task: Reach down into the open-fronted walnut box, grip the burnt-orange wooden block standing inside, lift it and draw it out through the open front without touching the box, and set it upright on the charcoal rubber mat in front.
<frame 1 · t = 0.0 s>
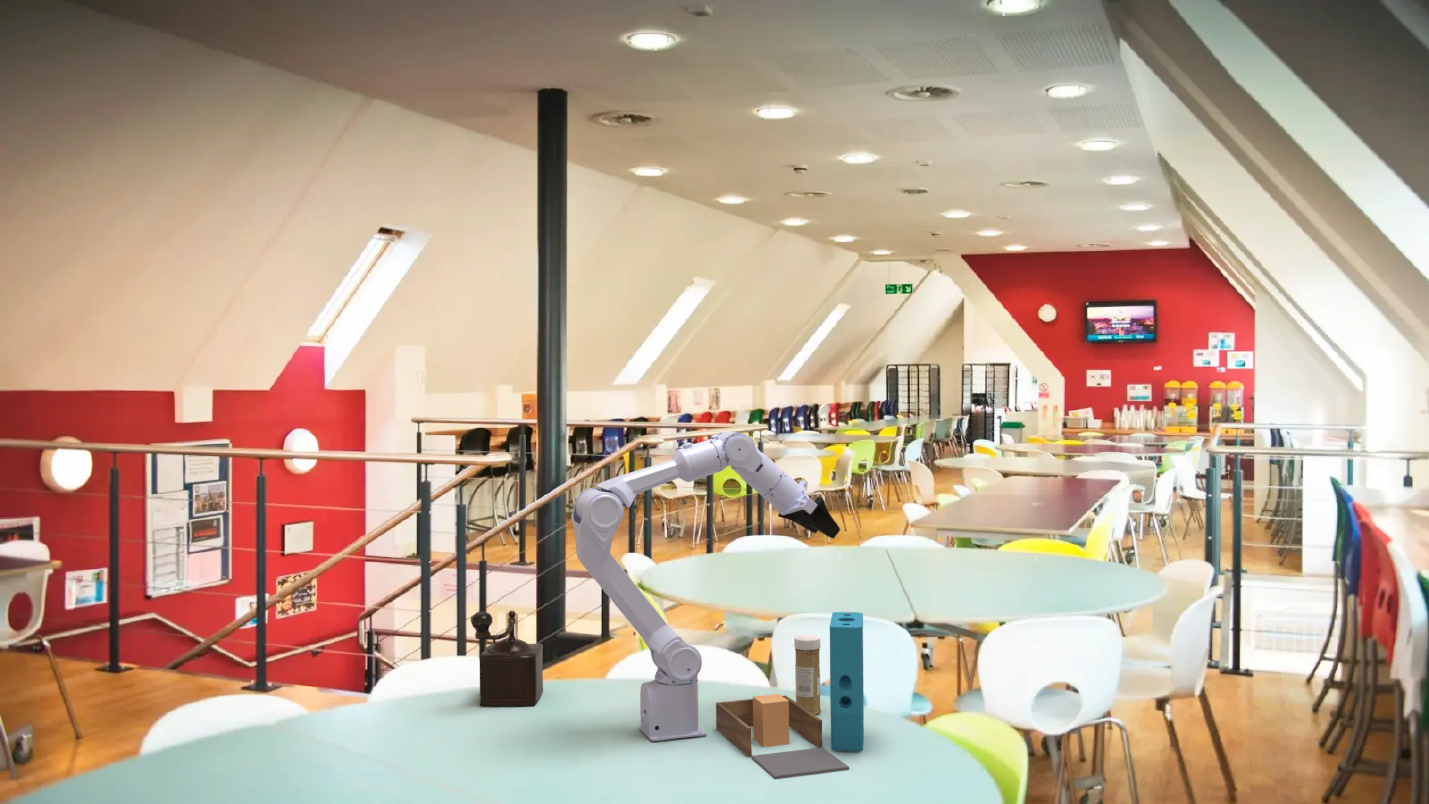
hand: (827, 531, 204), 32 cm above the table, tool tilted 50°, fingers open, 7 cm apart
manual coffee grinder: (508, 704, 215), on the table
walnut box: (771, 741, 190), on the table
block: (847, 744, 189), on the table
charcoal mat: (799, 763, 179), on the table
orange block: (770, 720, 190), in the walnut box
sprinkles bottle: (808, 713, 206), on the table
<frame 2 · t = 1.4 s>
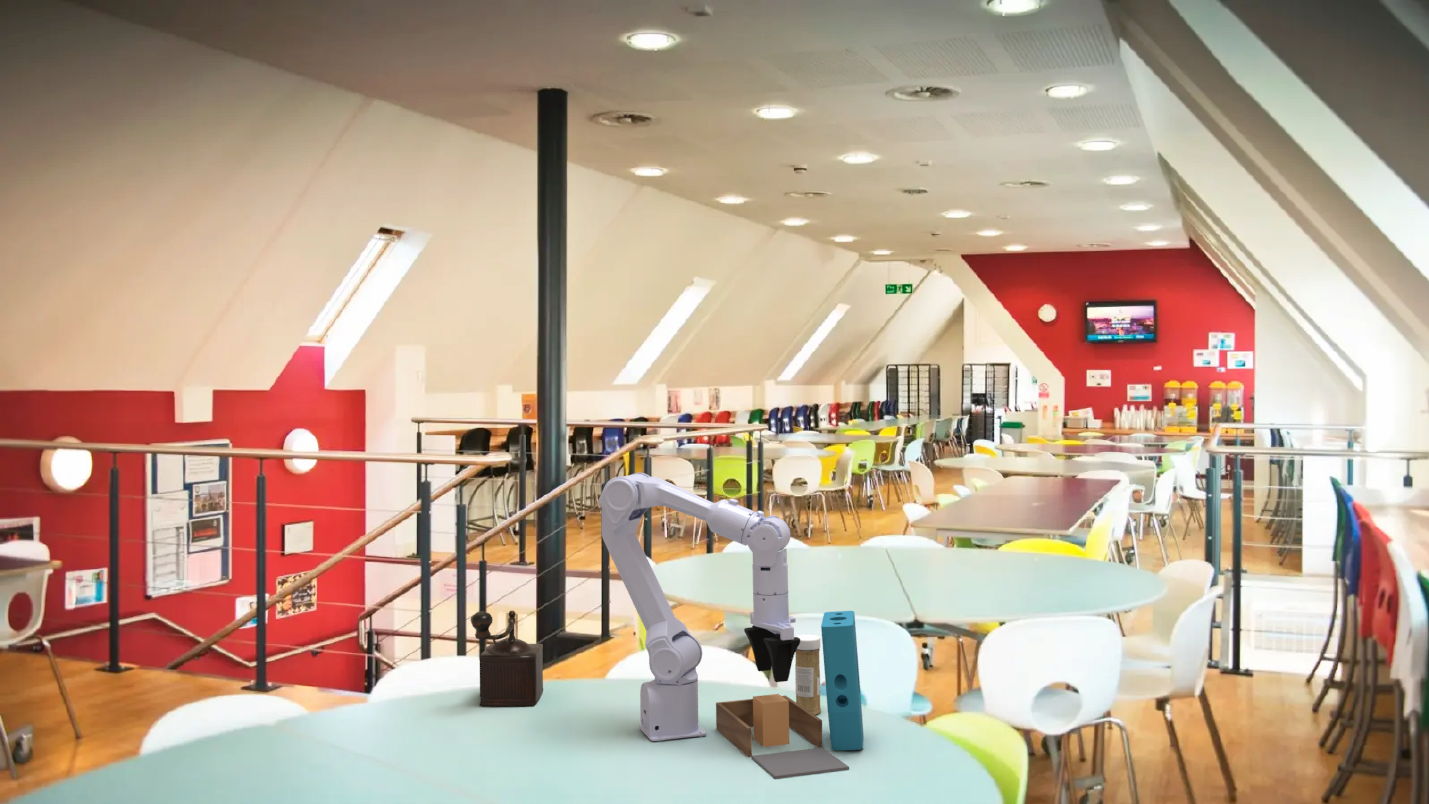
hand: (772, 675, 190), 11 cm above the table, tool pointing down, fingers open, 7 cm apart
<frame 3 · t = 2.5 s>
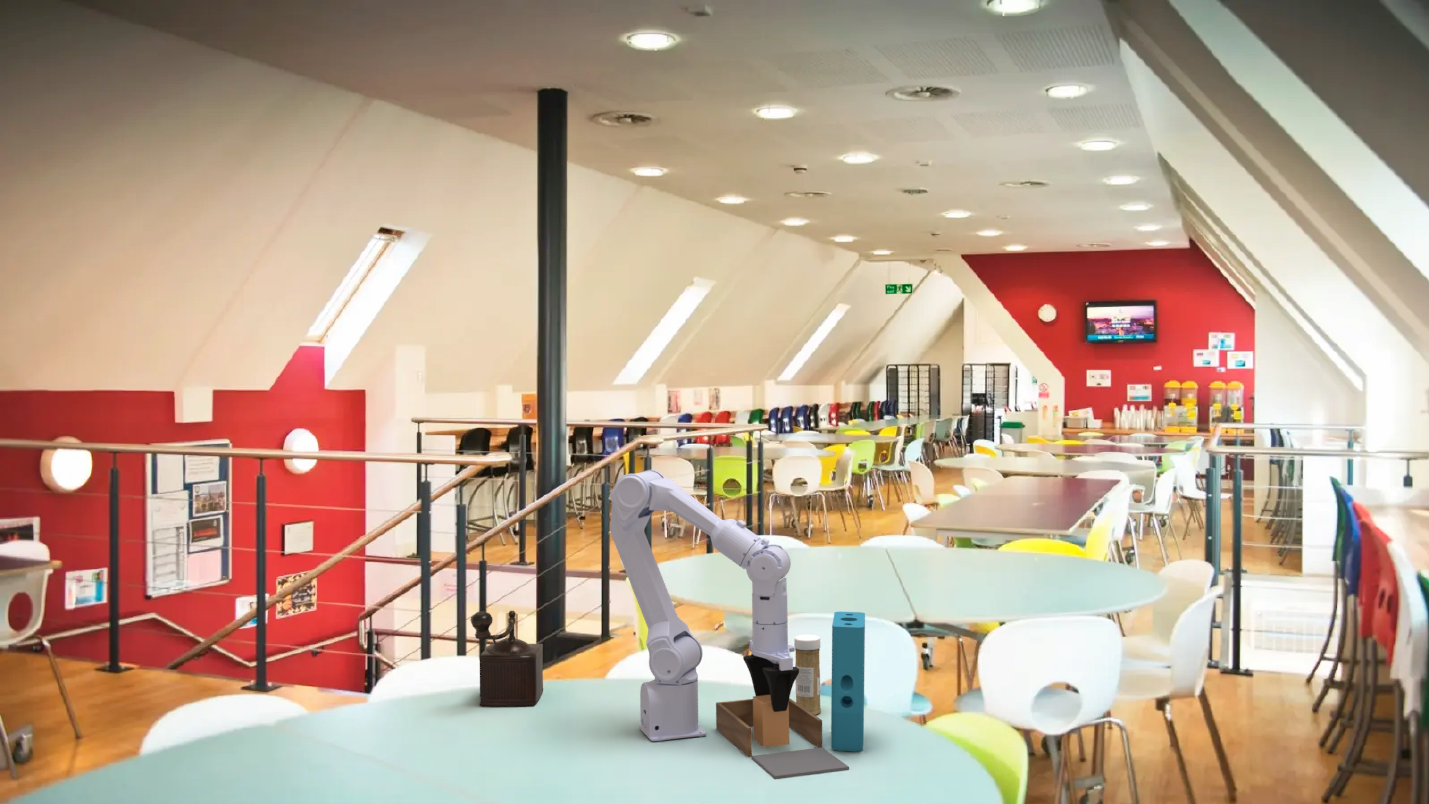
hand: (771, 704, 190), 6 cm above the table, tool pointing down, fingers open, 7 cm apart
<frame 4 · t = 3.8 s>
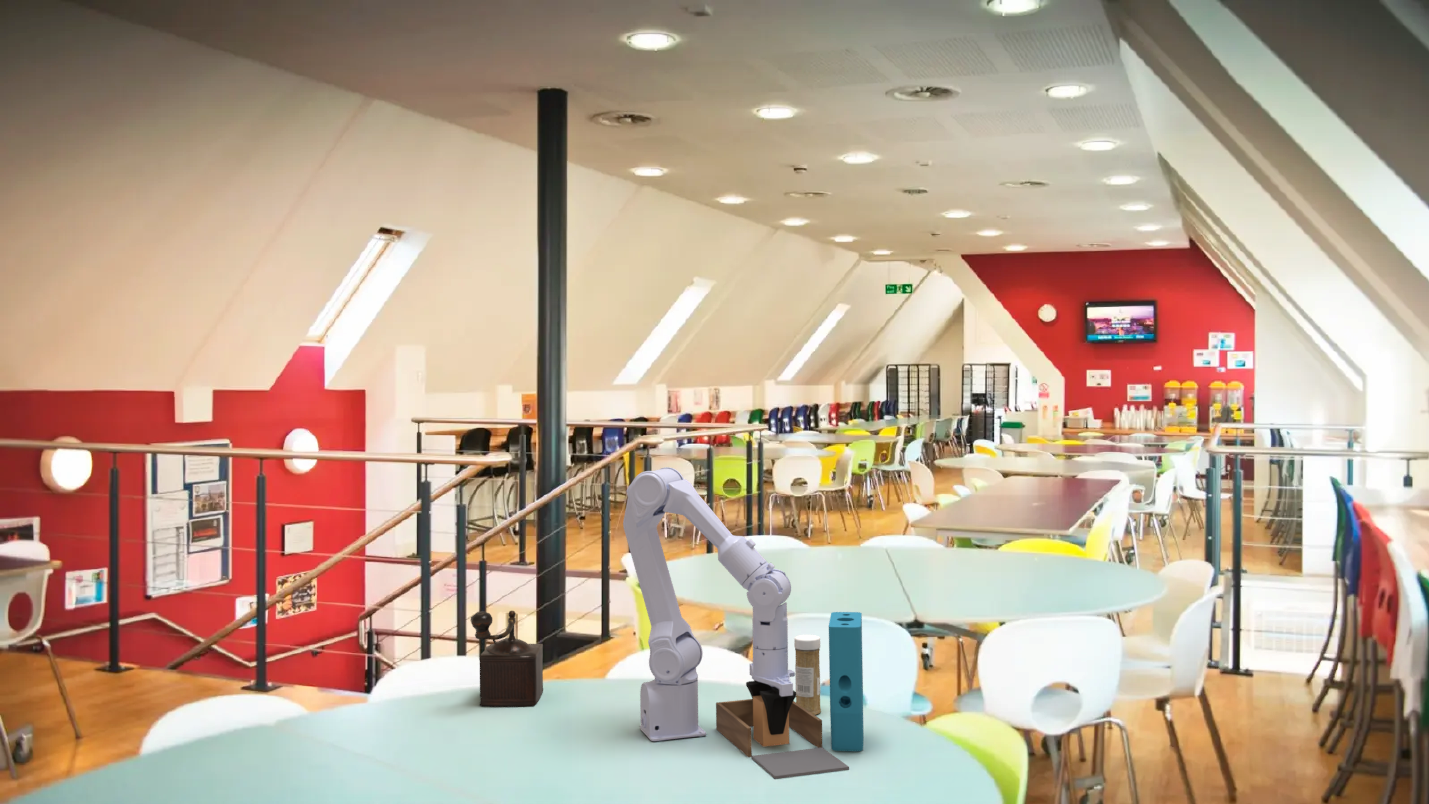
hand: (771, 729, 190), 2 cm above the table, tool pointing down, fingers closed on orange block, 4 cm apart
orange block: (770, 719, 190), in the walnut box, touching gripper
everything else where it was.
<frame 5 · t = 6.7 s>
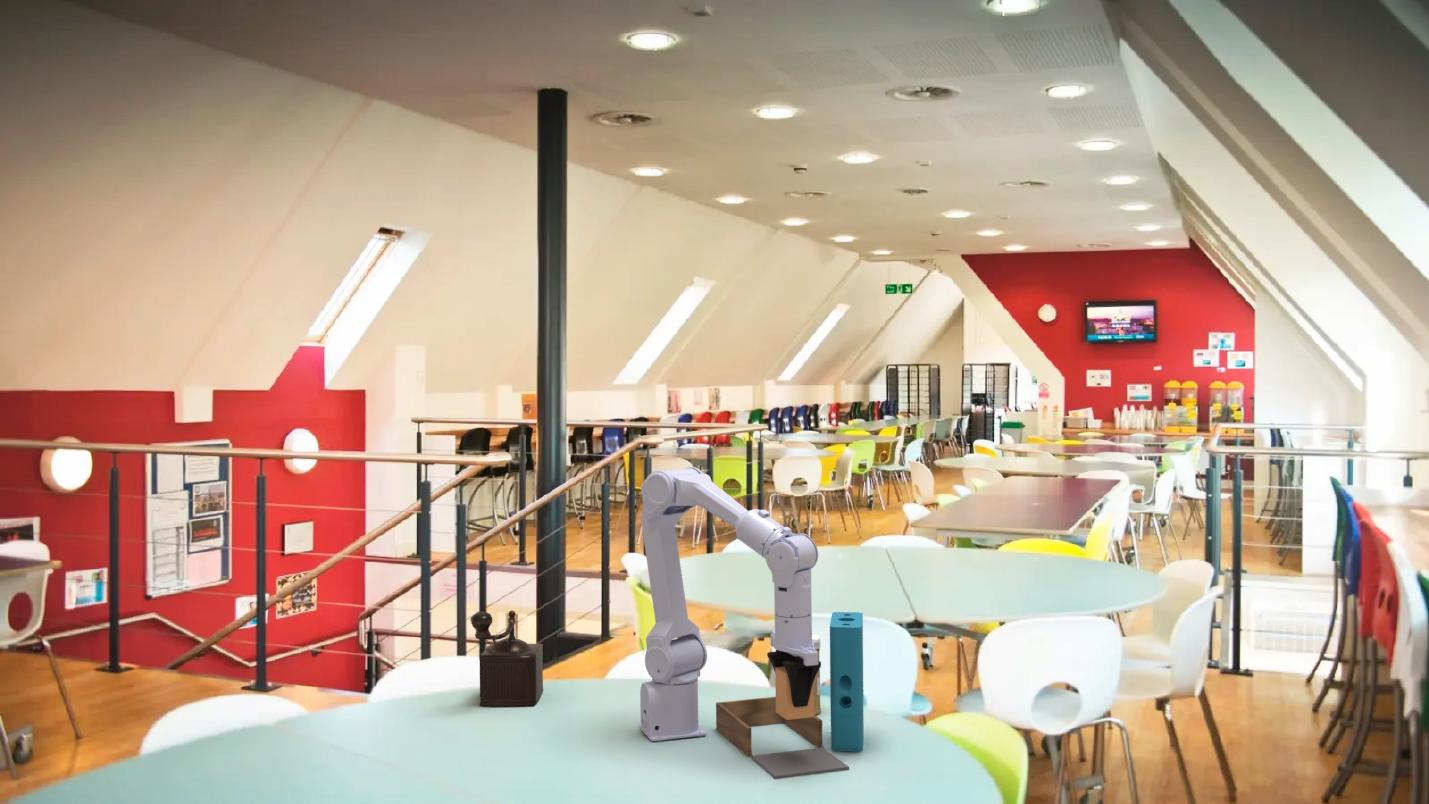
hand: (794, 701, 181), 9 cm above the table, tool pointing down, fingers closed on orange block, 4 cm apart
orange block: (794, 692, 181), point 10 cm above the table, touching gripper
everything else where it was.
when the fingers open (4 cm above the table, at t = 9.4 s): orange block drops 1 cm, resting on charcoal mat.
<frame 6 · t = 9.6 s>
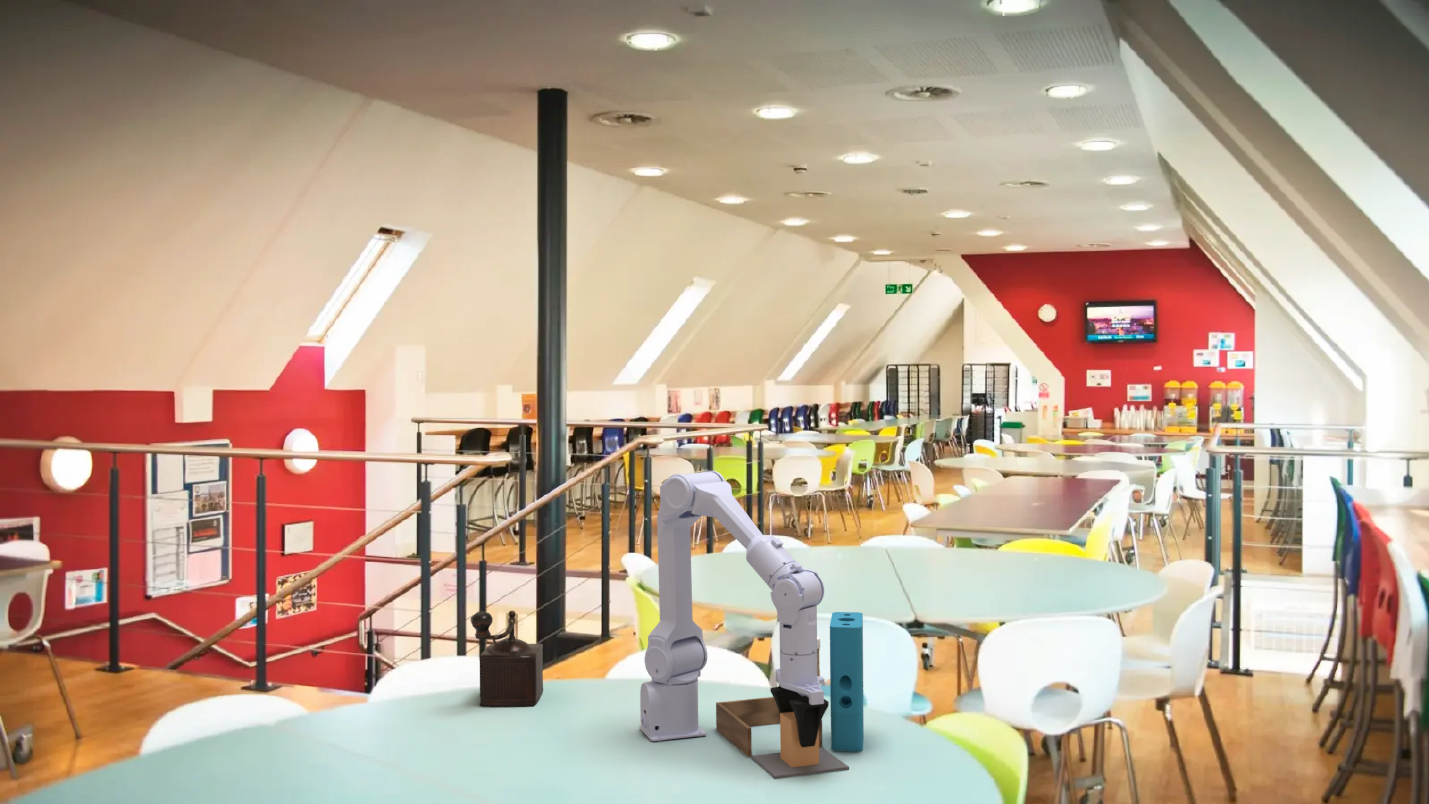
hand: (799, 739, 179), 4 cm above the table, tool pointing down, fingers open, 6 cm apart
orange block: (799, 738, 179), on the charcoal mat
everything else where it was.
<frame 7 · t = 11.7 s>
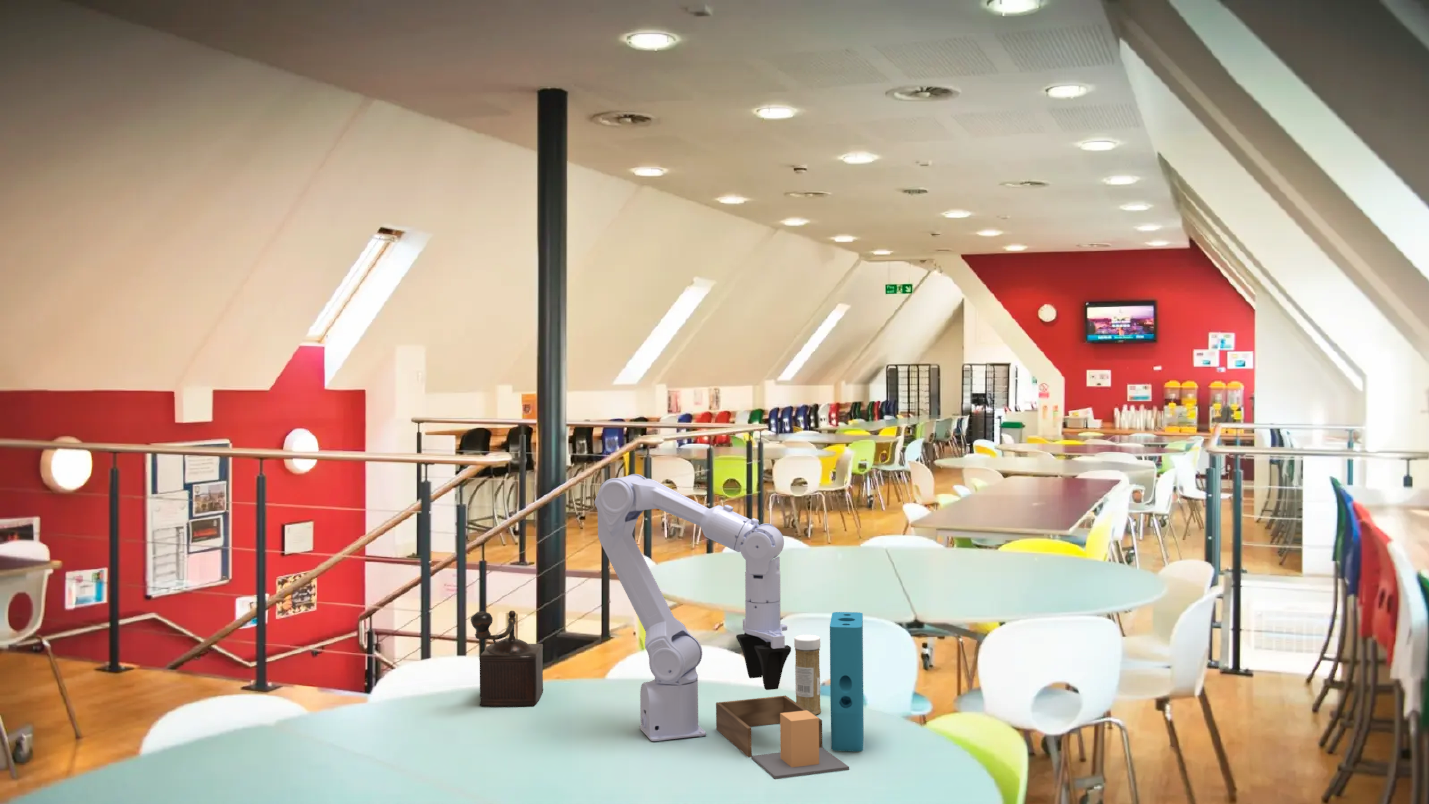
hand: (763, 683, 191), 9 cm above the table, tool pointing down, fingers open, 7 cm apart
nothing on the table moved.
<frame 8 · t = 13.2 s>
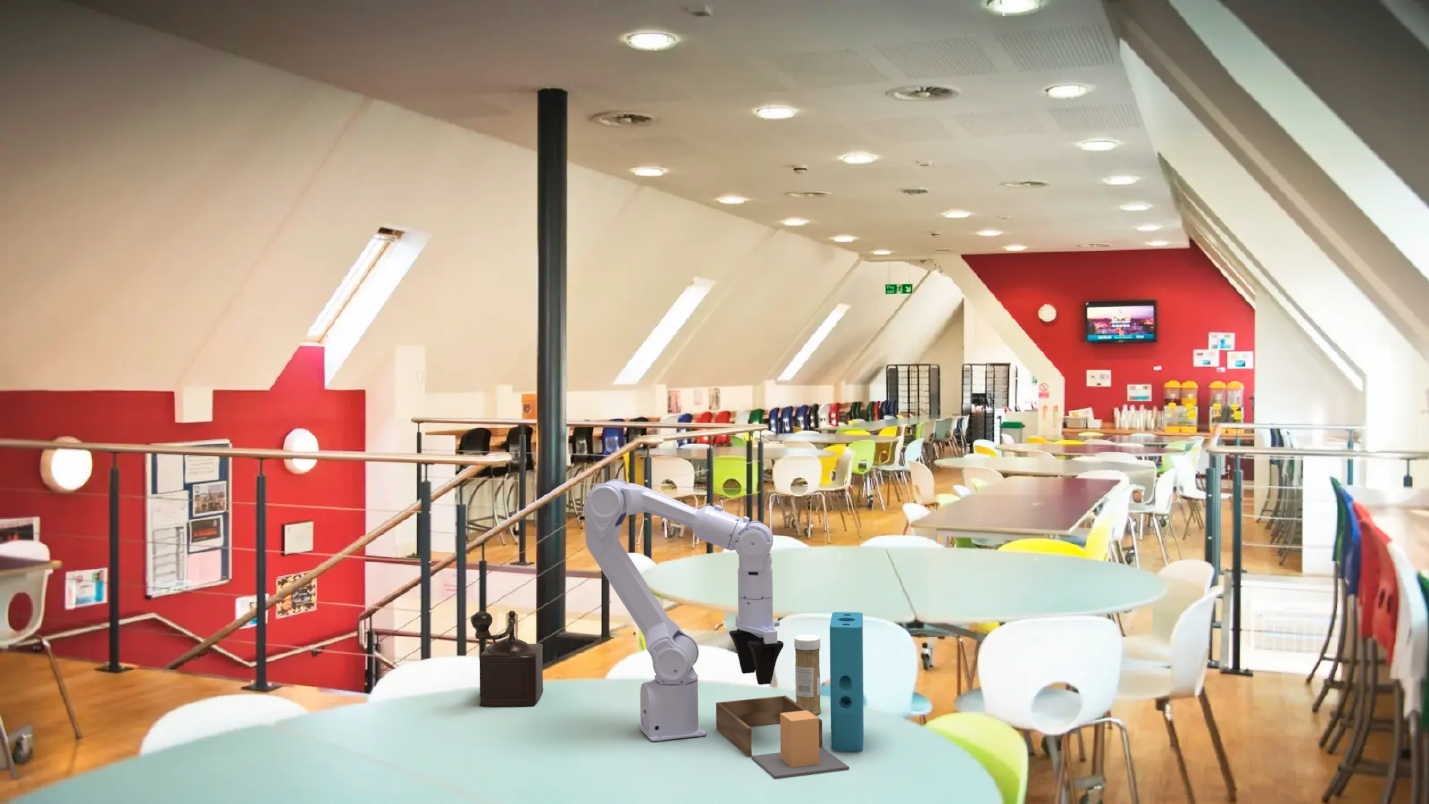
hand: (756, 678, 194), 9 cm above the table, tool pointing down, fingers open, 7 cm apart
nothing on the table moved.
at the end: orange block inside the target area on the charcoal mat (0.0 cm from its centre), point 3.9 cm above the charcoal mat's base; orange block tilted 0°; orange block touching charcoal mat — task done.
